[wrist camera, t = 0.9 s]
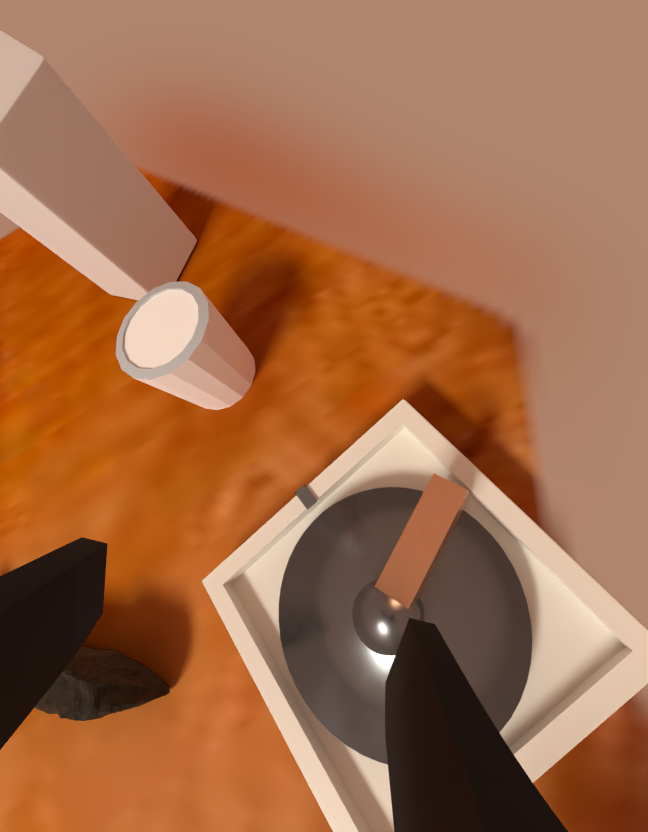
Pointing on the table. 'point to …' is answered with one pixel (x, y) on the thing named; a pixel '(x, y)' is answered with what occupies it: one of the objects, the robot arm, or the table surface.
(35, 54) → the milk carton
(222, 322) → the white cylinder
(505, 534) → the dial plate
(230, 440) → the table surface
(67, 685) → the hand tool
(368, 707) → the dial
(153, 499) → the table surface
